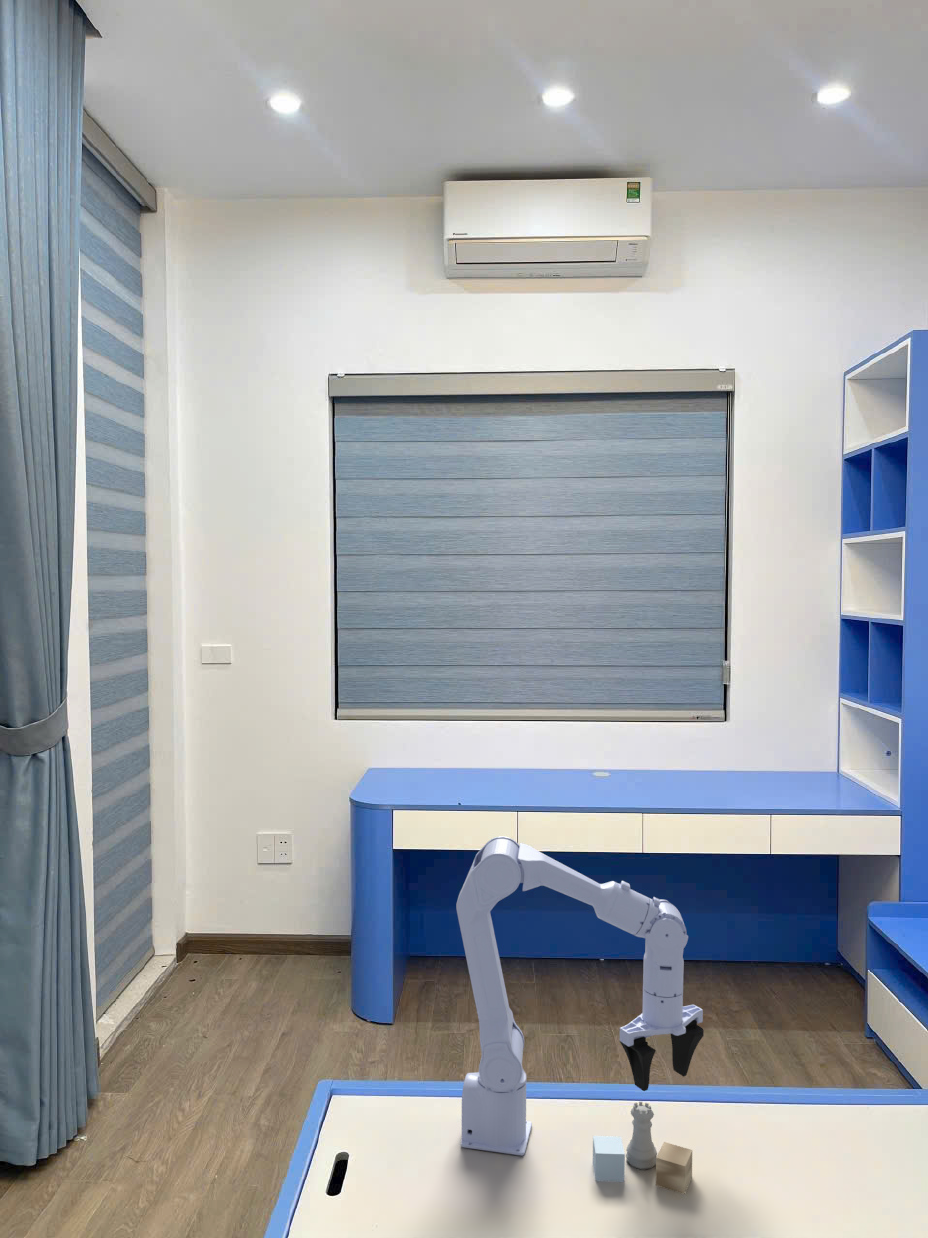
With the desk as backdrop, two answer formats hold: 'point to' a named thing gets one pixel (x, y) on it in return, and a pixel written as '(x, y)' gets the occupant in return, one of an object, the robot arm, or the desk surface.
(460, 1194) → the desk surface
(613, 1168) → the pale blue block
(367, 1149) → the desk surface
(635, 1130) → the rook chess piece
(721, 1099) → the desk surface
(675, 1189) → the beech block
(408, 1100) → the desk surface
